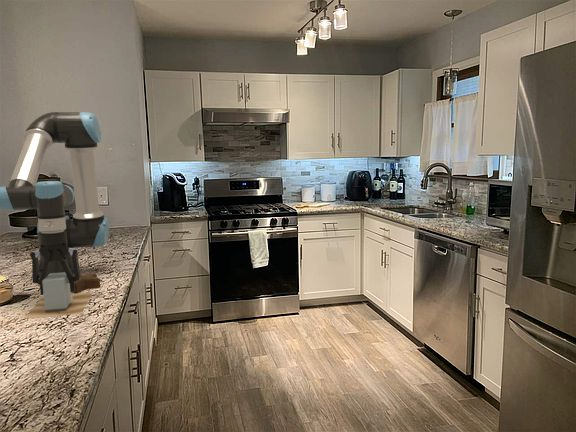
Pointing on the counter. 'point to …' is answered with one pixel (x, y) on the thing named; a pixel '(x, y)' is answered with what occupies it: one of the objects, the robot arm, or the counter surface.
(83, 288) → the decorative item
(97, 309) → the counter surface
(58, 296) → the grey rectangular block
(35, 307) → the board
